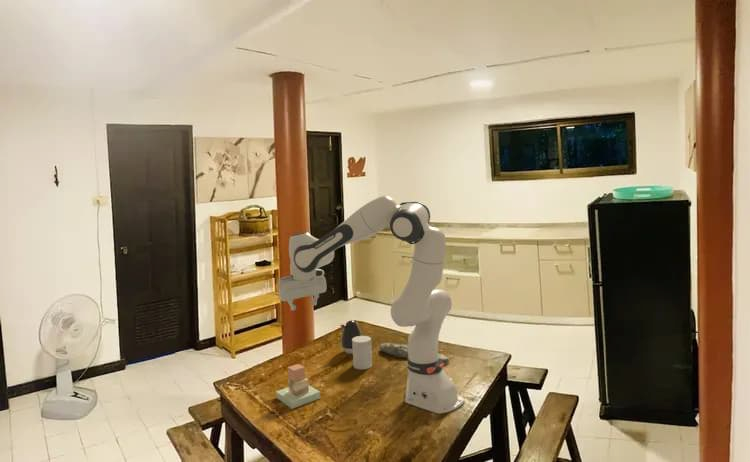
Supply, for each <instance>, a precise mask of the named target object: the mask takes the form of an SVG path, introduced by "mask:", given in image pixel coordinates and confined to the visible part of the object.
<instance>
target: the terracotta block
mask: <svg viewBox="0 0 750 462" xmlns="http://www.w3.org/2000/svg"><path fill="white" fill-rule="evenodd" d="M305 371H306V368H305V366H303V365H301V364H300V363H297V364H295V365H294V364H293V365H291V366H288V367H287V373H288V379H290V380H292V381H293V382H297V381H300V380H303V379H305V378H306V372H305Z"/></svg>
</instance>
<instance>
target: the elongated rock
mask: <svg viewBox="0 0 750 462" xmlns="http://www.w3.org/2000/svg"><path fill="white" fill-rule="evenodd" d="M379 349H380V350H381V352H383V353H386V354H388V355H391V356H394V357H395V358H396V357H398V358H405V359H407V358H408V344H403V343H393V342H392V343H390V342H389V343H388V342H385V343H381V344H380V345H379ZM438 357H439V359H440V362H441V364H442V363H444V364H443V365H444V366H446V365H448V364H449V363H450V360H449V357H448V356H446V355H445V354H442V353H438ZM443 365H442V366H443Z"/></svg>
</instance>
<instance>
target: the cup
mask: <svg viewBox="0 0 750 462" xmlns="http://www.w3.org/2000/svg"><path fill="white" fill-rule="evenodd" d="M352 347H353V354H352V363H353V368H354V369H356V370H367V369H370V368H371V367H373V355H372V338H371V337H370V336H369V335H362V336H357V337H354V338H353V339H352Z"/></svg>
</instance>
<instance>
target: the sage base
mask: <svg viewBox="0 0 750 462" xmlns="http://www.w3.org/2000/svg"><path fill="white" fill-rule="evenodd" d="M308 386H309V392H308V393H305V394H302V395H299V396H297V397H296V396H294V395H293V394H291V393H290V392H289V389H288V386H287V387H285V388H282V389H279V390H276V391H275V396H276V399H278V400H279V401H281V402H282V403H283V404H284V405H286V406H287V407H289V408H290V409H292V410H293V409H295V408H299V407H301V406H303V405H306V404H308V403H311V402H314V401H317V400H319V399H321V391H319V390H318V389H316V388H314V387H313V386H311V385H309V384H308Z"/></svg>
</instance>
